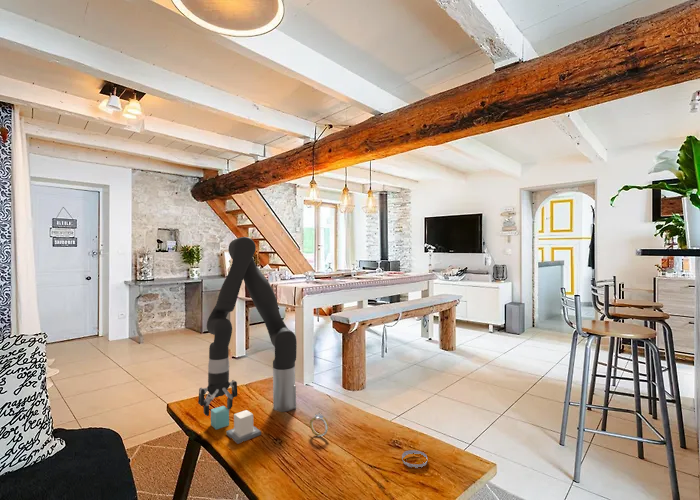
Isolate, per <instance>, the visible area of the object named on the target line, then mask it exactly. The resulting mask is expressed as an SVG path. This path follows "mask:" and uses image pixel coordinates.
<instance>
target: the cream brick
mask: <svg viewBox="0 0 700 500" xmlns="http://www.w3.org/2000/svg"><path fill="white" fill-rule="evenodd" d="M253 426H254V414H253V413H252V412H250V410H247V409H245V410H242V411H240V412H236V413H234V414H233V428H234V431H235V432H236V433H238V434H239V435H240V436H241V435H244V434H246V433H249V432H252V431H253Z"/></svg>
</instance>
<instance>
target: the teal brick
mask: <svg viewBox="0 0 700 500" xmlns="http://www.w3.org/2000/svg"><path fill="white" fill-rule="evenodd" d="M210 426H211V427H213V428H214V430H219V429H223V428H225V427H228V426H230V409H228V408H227V406H225V405H220V406H218V407H214V408H211V409H210Z"/></svg>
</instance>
